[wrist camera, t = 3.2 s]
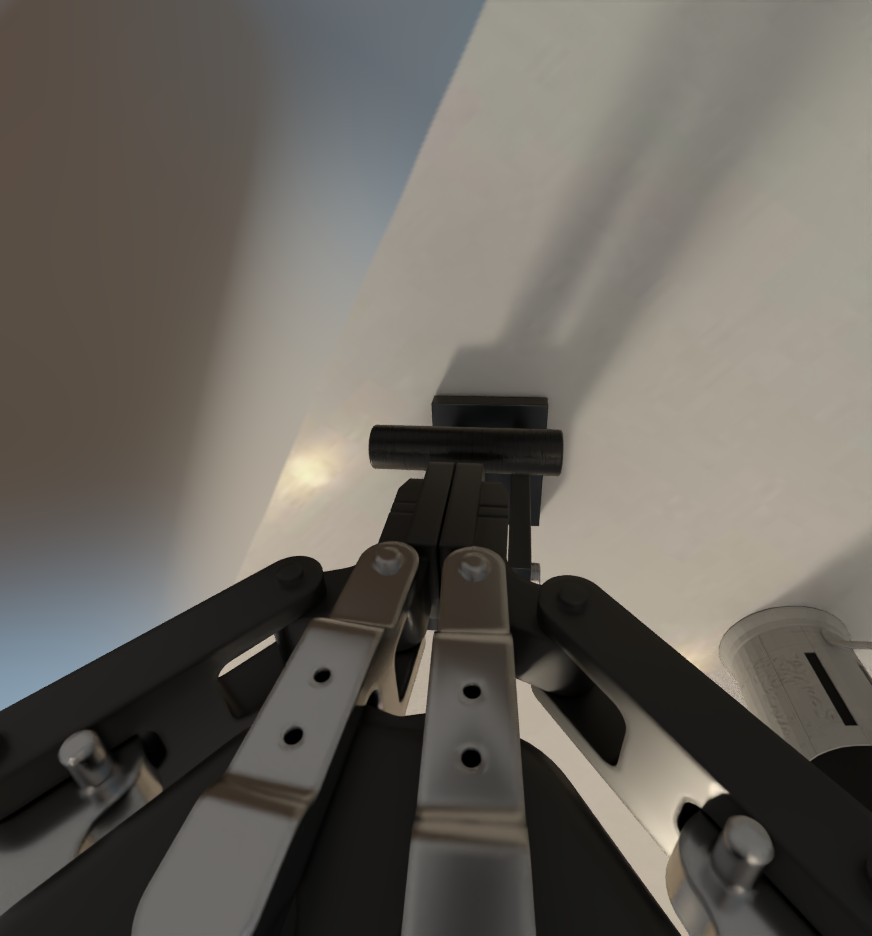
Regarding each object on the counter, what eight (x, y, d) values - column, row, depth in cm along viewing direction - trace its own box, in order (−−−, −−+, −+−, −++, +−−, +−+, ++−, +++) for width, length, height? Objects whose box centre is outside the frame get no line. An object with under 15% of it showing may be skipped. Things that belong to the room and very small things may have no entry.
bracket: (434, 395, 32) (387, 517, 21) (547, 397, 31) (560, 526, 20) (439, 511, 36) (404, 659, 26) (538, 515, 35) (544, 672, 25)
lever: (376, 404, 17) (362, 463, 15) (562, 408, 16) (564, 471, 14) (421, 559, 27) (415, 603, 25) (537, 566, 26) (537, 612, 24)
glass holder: (699, 669, 41) (778, 898, 28) (795, 537, 33) (963, 770, 21) (807, 694, 41) (935, 937, 28) (929, 567, 33) (1182, 822, 20)
